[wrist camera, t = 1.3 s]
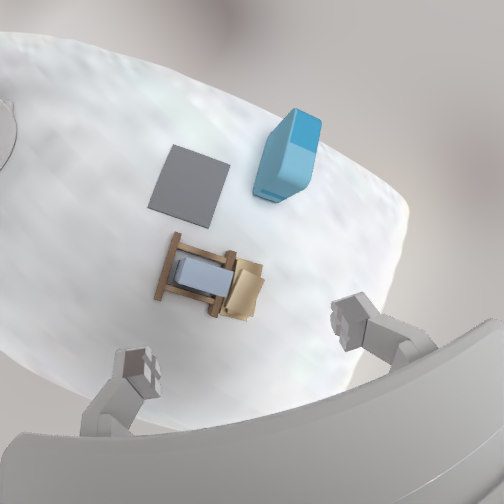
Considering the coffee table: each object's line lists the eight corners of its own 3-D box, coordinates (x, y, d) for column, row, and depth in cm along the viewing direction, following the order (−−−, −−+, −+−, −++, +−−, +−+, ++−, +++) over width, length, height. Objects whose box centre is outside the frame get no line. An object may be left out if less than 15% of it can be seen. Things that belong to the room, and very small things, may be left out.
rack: (154, 296, 42) (154, 299, 39) (174, 233, 43) (175, 231, 40) (213, 314, 44) (217, 317, 42) (231, 253, 46) (236, 252, 43)
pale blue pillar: (173, 278, 43) (178, 283, 30) (179, 260, 43) (186, 256, 31) (207, 289, 44) (226, 297, 32) (213, 271, 45) (233, 272, 32)
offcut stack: (217, 312, 45) (223, 317, 40) (233, 257, 46) (241, 256, 42) (245, 320, 46) (254, 325, 42) (261, 266, 47) (271, 266, 43)
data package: (275, 205, 49) (310, 187, 37) (250, 196, 47) (279, 174, 36) (290, 145, 50) (323, 116, 39) (267, 135, 49) (296, 103, 38)
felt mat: (147, 207, 42) (147, 206, 42) (173, 145, 44) (173, 144, 43) (208, 228, 45) (208, 228, 44) (229, 166, 46) (230, 165, 46)
